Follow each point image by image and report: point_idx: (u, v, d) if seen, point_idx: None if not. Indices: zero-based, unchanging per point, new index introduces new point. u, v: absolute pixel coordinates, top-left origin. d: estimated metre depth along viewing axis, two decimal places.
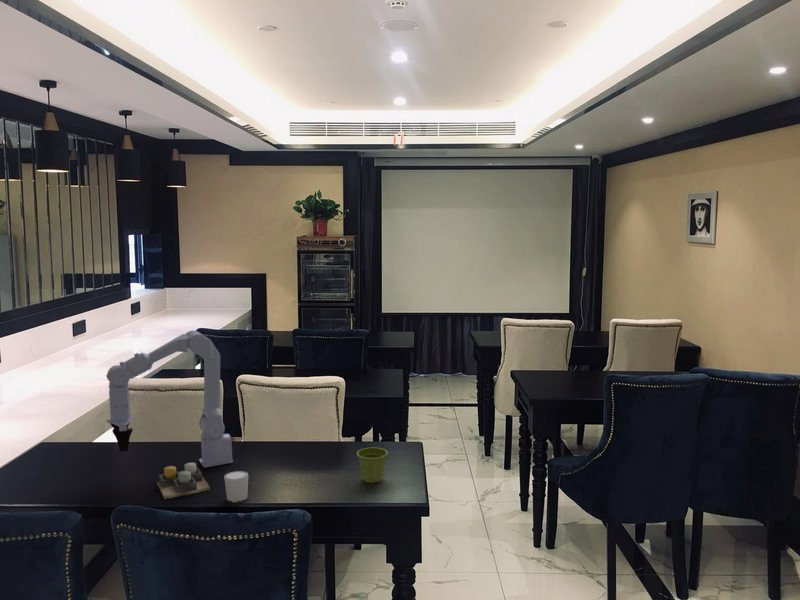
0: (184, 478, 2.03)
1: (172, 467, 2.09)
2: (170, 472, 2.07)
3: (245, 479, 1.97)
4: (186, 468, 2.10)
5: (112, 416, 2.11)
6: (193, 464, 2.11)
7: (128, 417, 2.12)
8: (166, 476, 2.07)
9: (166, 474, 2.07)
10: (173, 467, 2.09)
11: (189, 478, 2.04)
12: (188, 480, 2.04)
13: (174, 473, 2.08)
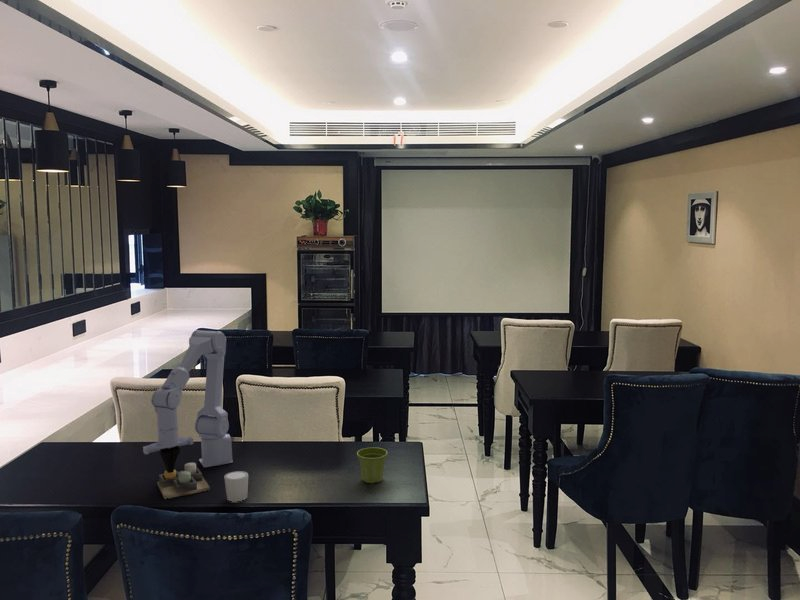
0: (184, 478, 2.03)
1: None
2: (170, 475, 2.07)
3: (245, 479, 1.97)
4: (186, 468, 2.10)
5: None
6: (193, 464, 2.11)
7: (164, 443, 2.05)
8: None
9: (166, 477, 2.07)
10: None
11: (189, 478, 2.04)
12: (188, 480, 2.04)
13: (174, 476, 2.08)
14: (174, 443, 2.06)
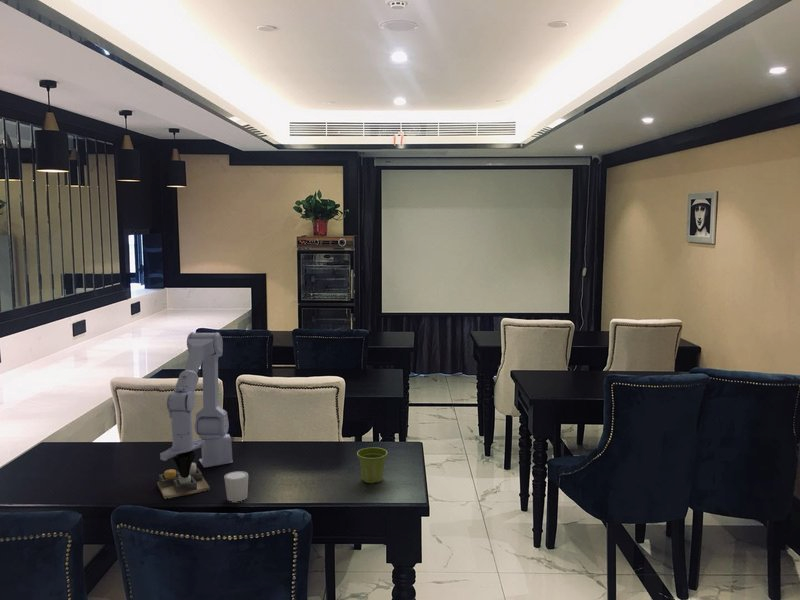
0: (184, 481, 2.03)
1: (172, 470, 2.09)
2: (170, 475, 2.07)
3: (245, 479, 1.97)
4: None
5: None
6: (193, 464, 2.11)
7: (182, 448, 2.00)
8: None
9: (166, 477, 2.07)
10: (173, 470, 2.09)
11: (189, 481, 2.04)
12: None
13: (174, 476, 2.08)
14: (191, 447, 2.02)
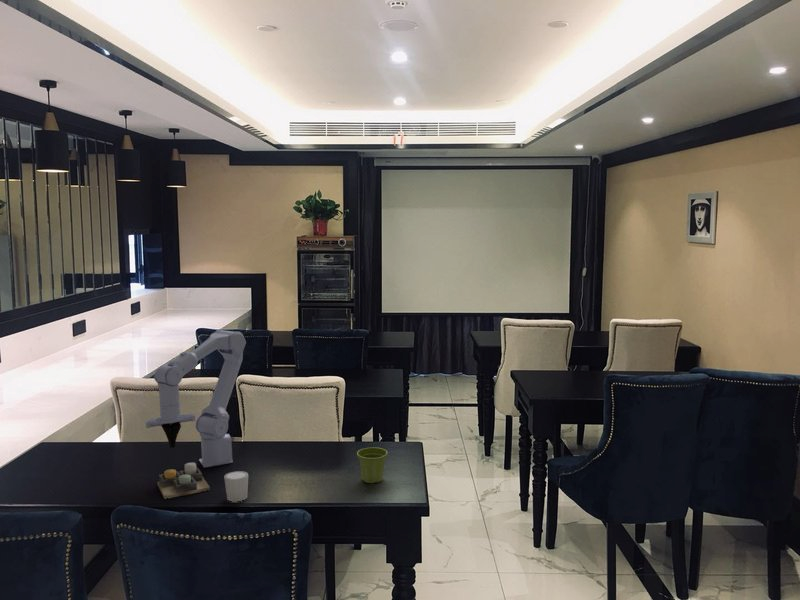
0: (184, 481, 2.03)
1: (172, 470, 2.09)
2: (170, 475, 2.07)
3: (245, 479, 1.97)
4: (186, 468, 2.10)
5: None
6: (193, 464, 2.11)
7: (165, 418, 2.11)
8: None
9: (166, 477, 2.07)
10: (173, 470, 2.09)
11: (189, 481, 2.04)
12: None
13: (174, 476, 2.08)
14: (174, 419, 2.11)
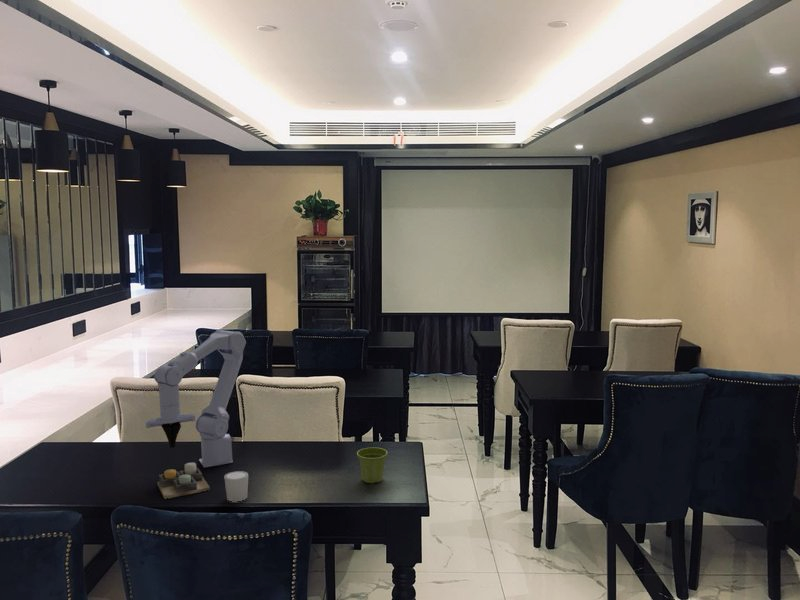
0: (184, 481, 2.03)
1: (172, 470, 2.09)
2: (170, 475, 2.07)
3: (245, 479, 1.97)
4: (186, 468, 2.10)
5: None
6: (193, 464, 2.11)
7: (165, 418, 2.11)
8: None
9: (166, 477, 2.07)
10: (173, 470, 2.09)
11: (189, 481, 2.04)
12: None
13: (174, 476, 2.08)
14: (174, 419, 2.11)
